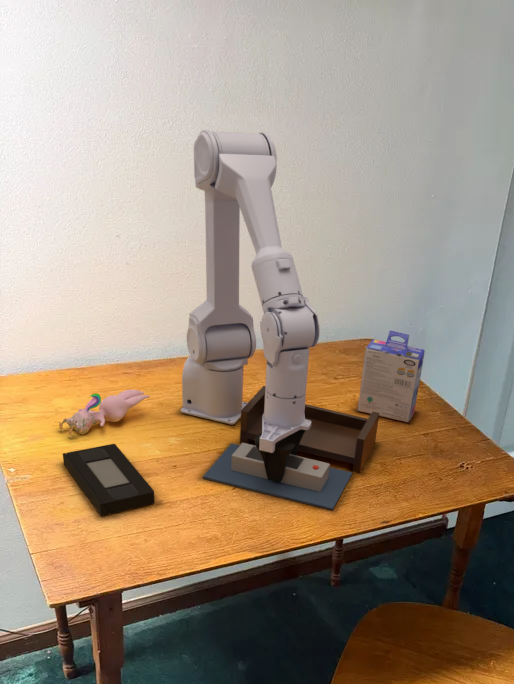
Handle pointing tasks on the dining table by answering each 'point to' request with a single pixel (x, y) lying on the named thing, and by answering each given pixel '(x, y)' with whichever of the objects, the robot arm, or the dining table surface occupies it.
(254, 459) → the remote
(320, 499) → the desk mat
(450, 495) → the dining table surface
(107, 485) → the vhs tape
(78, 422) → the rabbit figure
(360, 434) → the dark wooden tray
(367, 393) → the ink cartridge box
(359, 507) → the dining table surface
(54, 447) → the dining table surface
